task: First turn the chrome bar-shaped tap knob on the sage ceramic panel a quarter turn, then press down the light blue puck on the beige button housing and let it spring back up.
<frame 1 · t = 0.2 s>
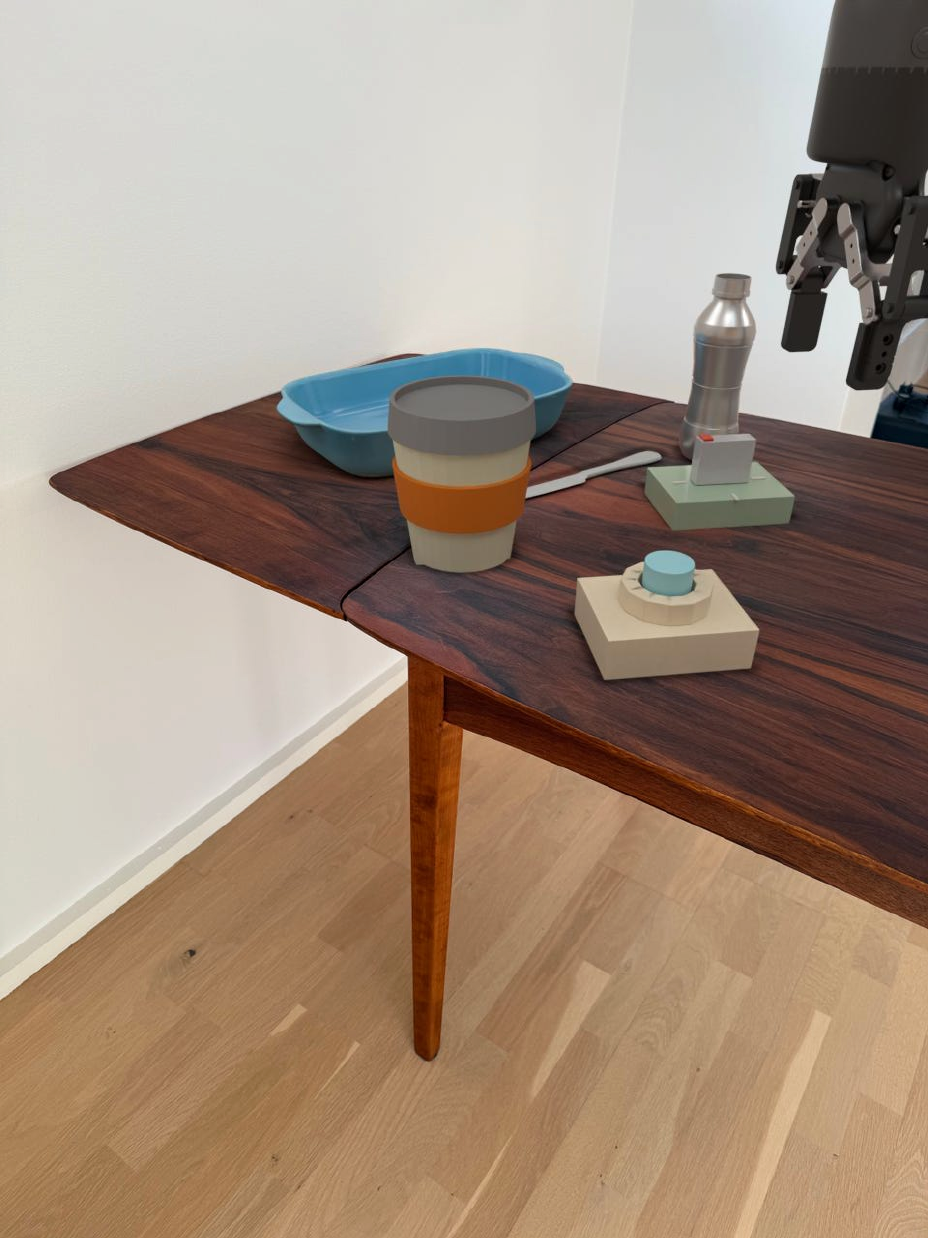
hand: (828, 368, 53), 22 cm above the table, tool pointing down, fingers open, 8 cm apart
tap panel: (714, 508, 87), on the table
casserole dish: (429, 440, 104), on the table
light blue puck: (668, 573, 62), point 7 cm above the table, slide at 0.1 cm
butter knife: (578, 480, 93), on the table
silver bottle: (704, 460, 99), on the table
reusable coffee cup: (462, 558, 78), on the table
beige button housing: (657, 649, 65), on the table
tap knob: (722, 458, 84), point 5 cm above the table, hinge at 0.0°
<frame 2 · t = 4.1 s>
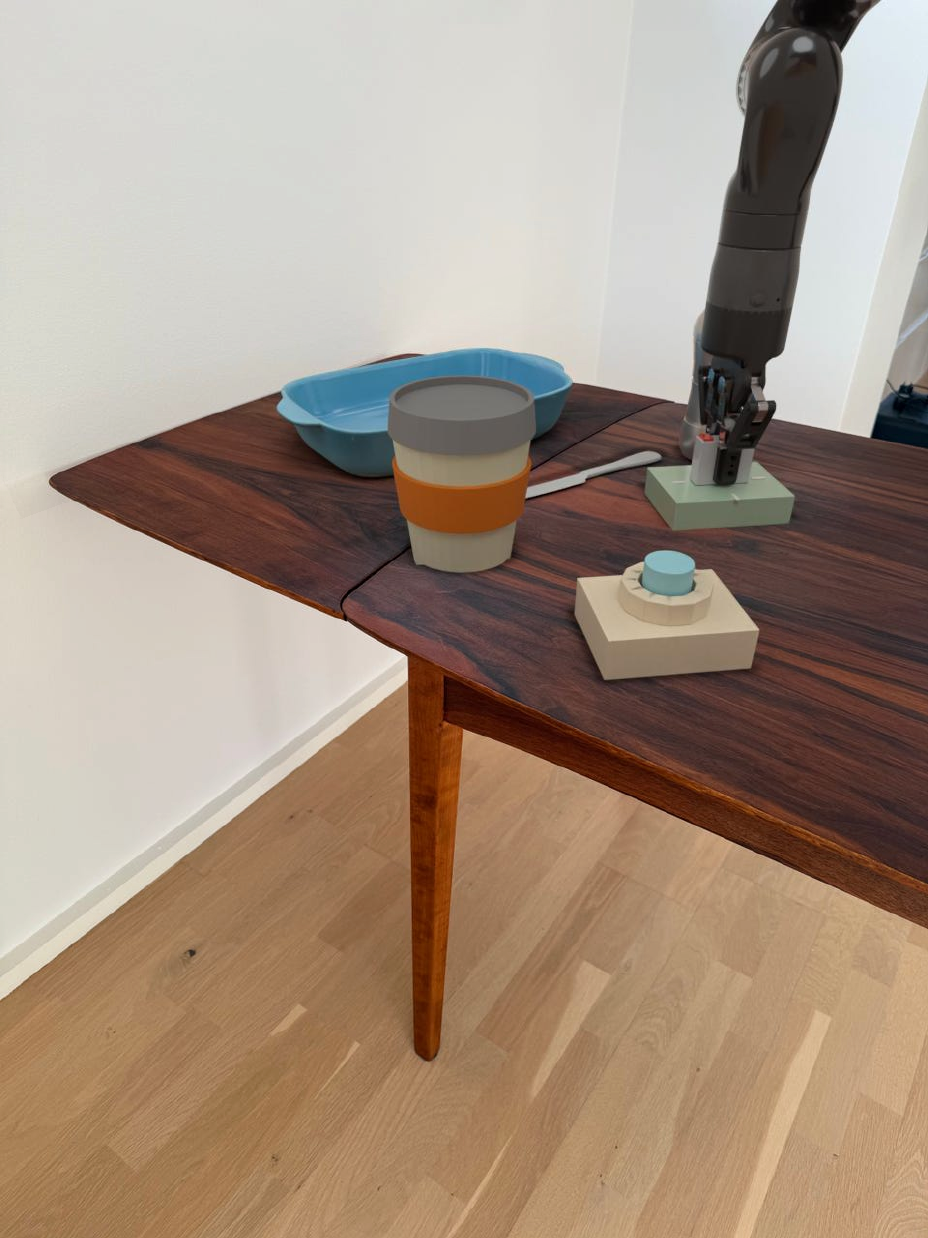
hand: (719, 477, 85), 3 cm above the table, tool pointing down, fingers closed on tap knob, 2 cm apart
tap knob: (722, 458, 84), point 5 cm above the table, hinge at 0.0°, touching gripper
everything else where it was.
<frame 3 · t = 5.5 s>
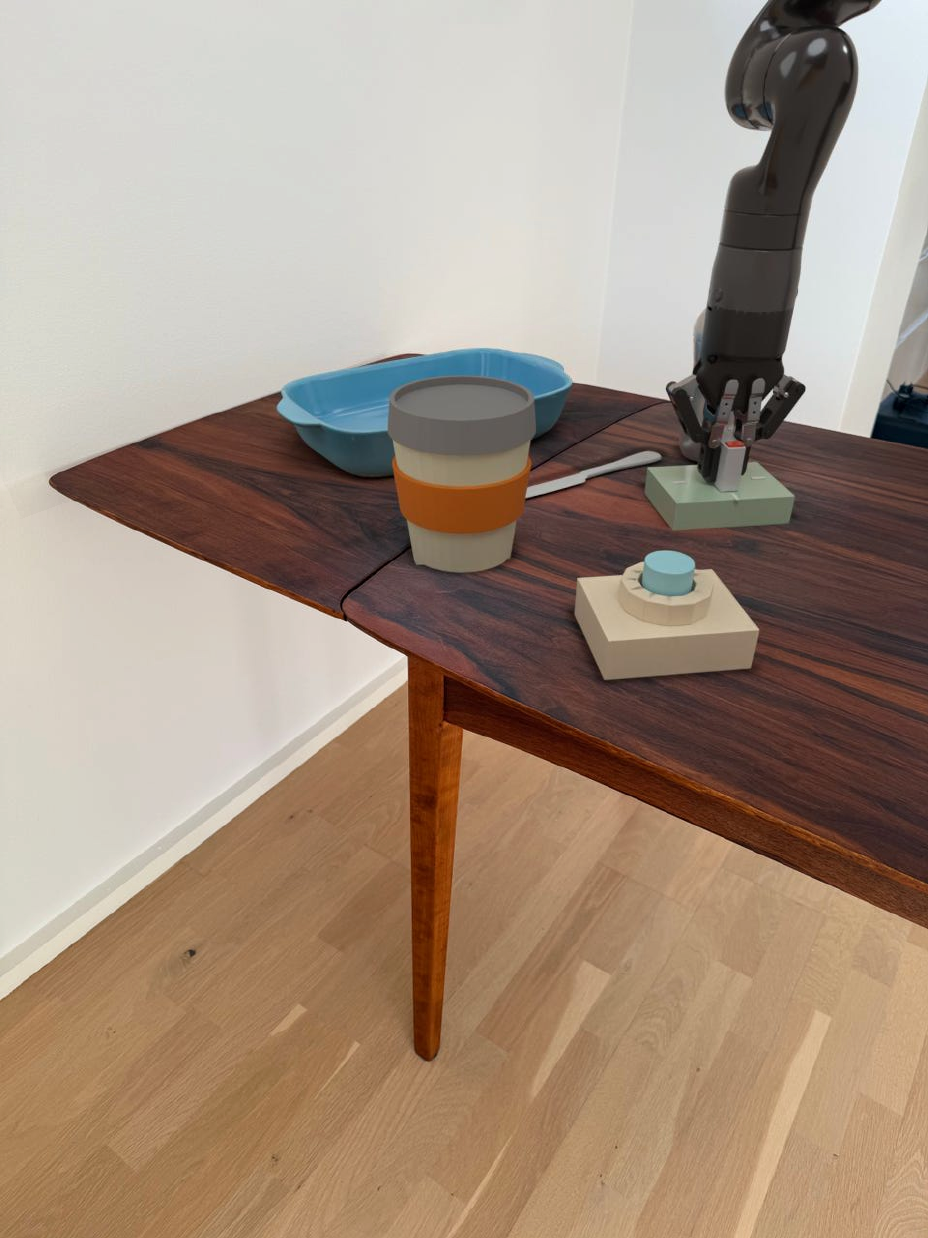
hand: (719, 478, 85), 3 cm above the table, tool pointing down, fingers closed on tap knob, 2 cm apart
tap knob: (722, 458, 84), point 5 cm above the table, hinge at 90.2°, touching gripper
everything else where it was.
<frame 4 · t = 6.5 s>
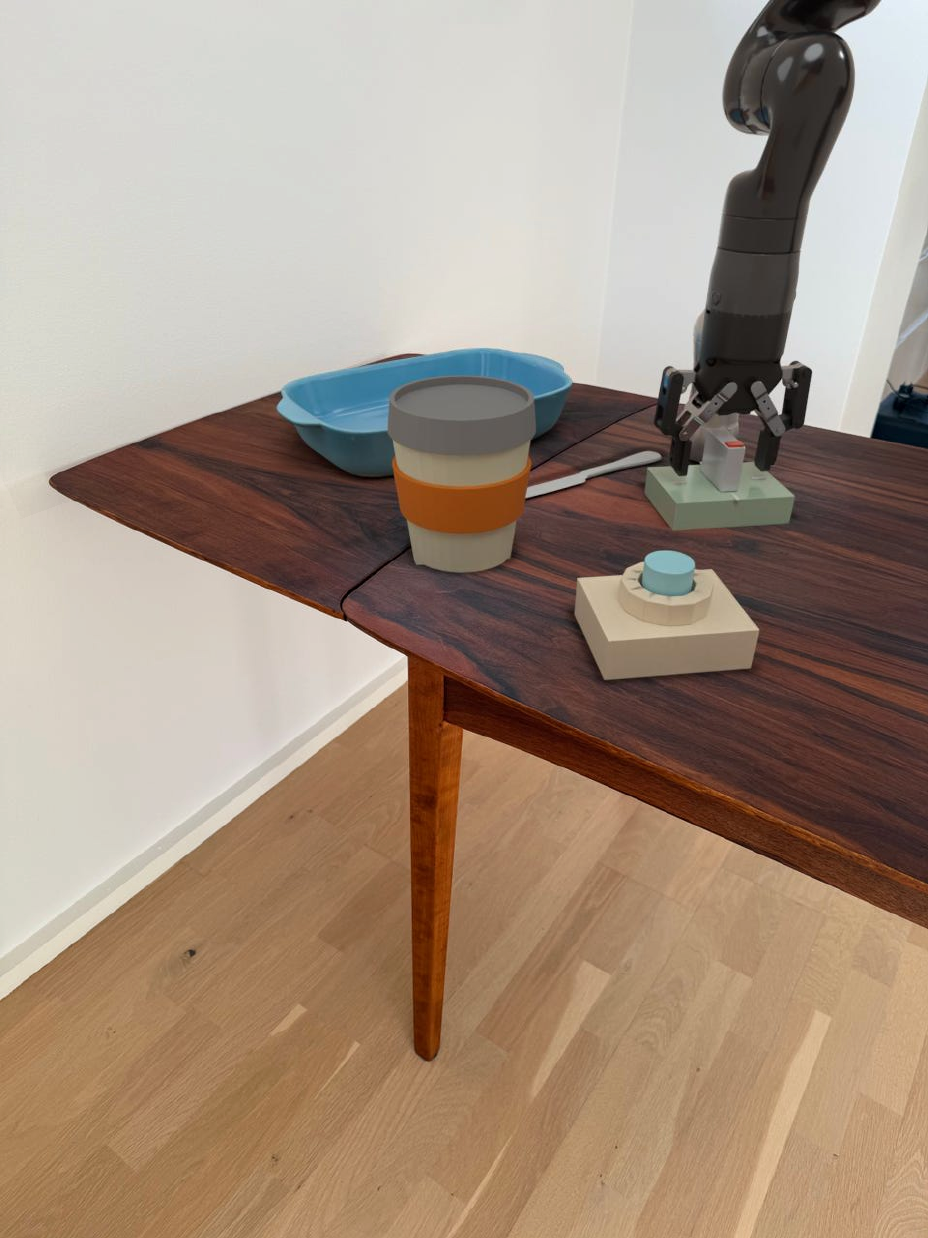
hand: (720, 471, 85), 4 cm above the table, tool pointing down, fingers open, 8 cm apart
tap knob: (722, 458, 84), point 5 cm above the table, hinge at 89.9°
everything else where it was.
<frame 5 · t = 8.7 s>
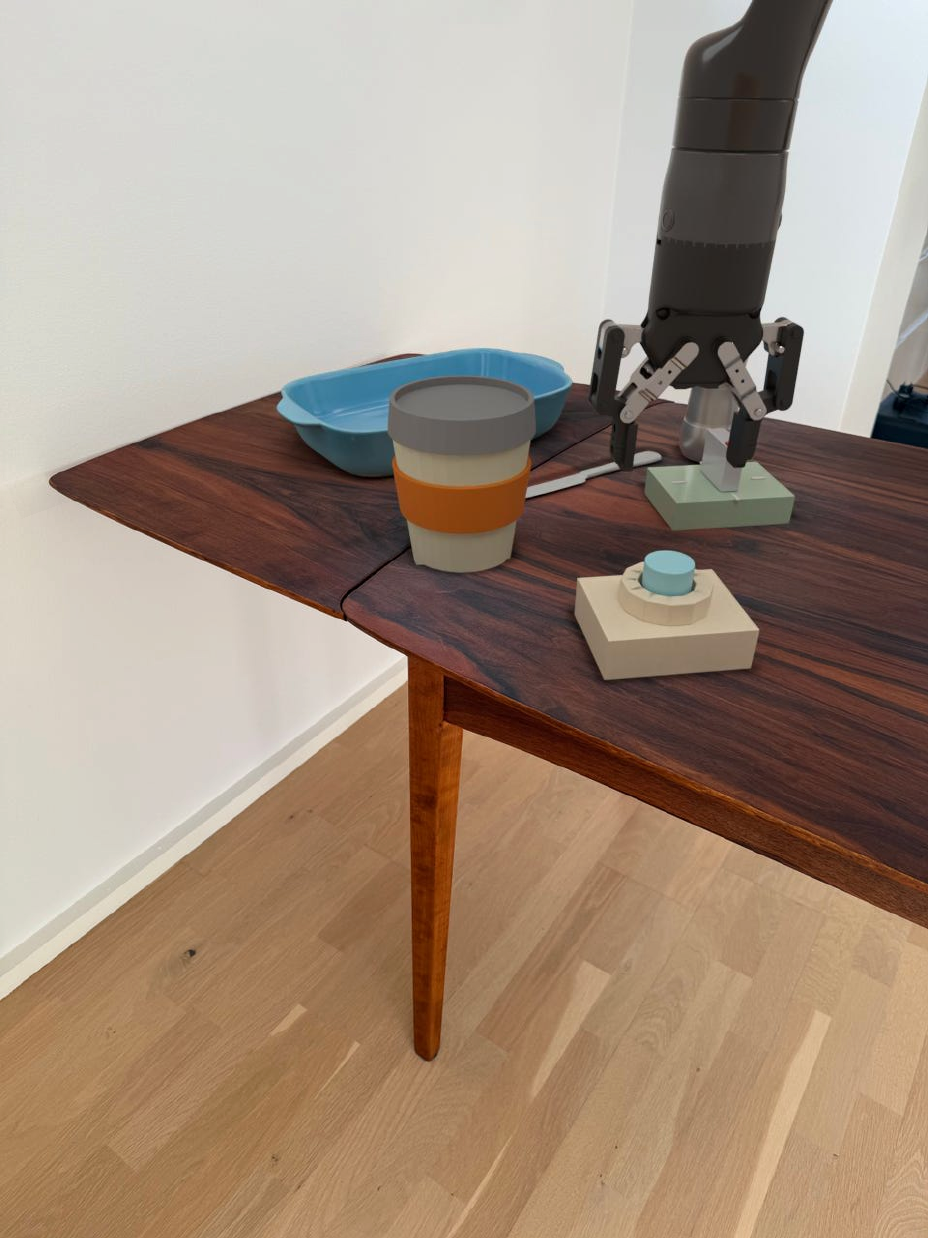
hand: (679, 465, 63), 13 cm above the table, tool pointing down, fingers open, 8 cm apart
nothing on the table moved.
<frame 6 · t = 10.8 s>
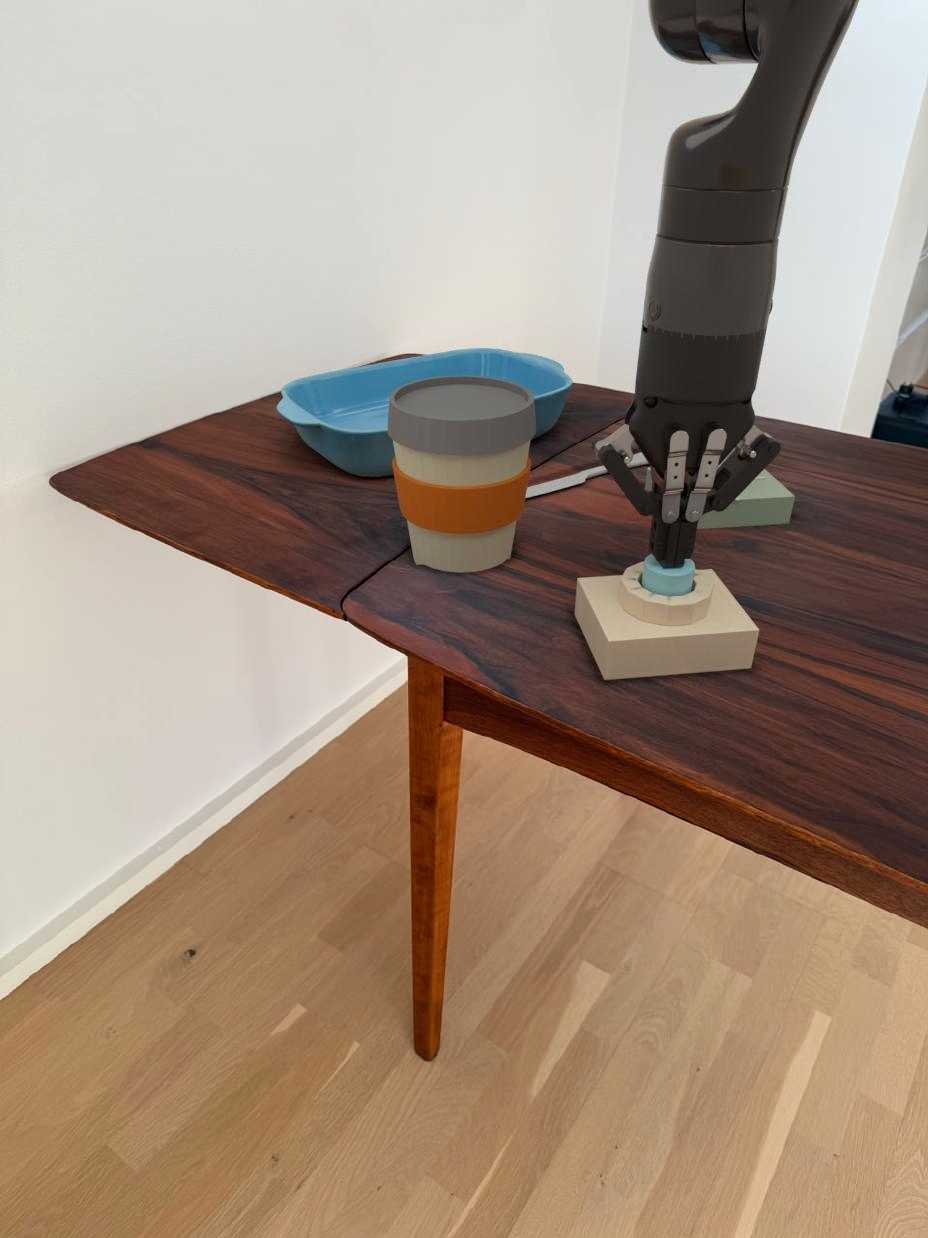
hand: (668, 562, 62), 8 cm above the table, tool pointing down, fingers closed
light blue puck: (667, 575, 62), point 7 cm above the table, slide at 0.0 cm, touching gripper
everything else where it was.
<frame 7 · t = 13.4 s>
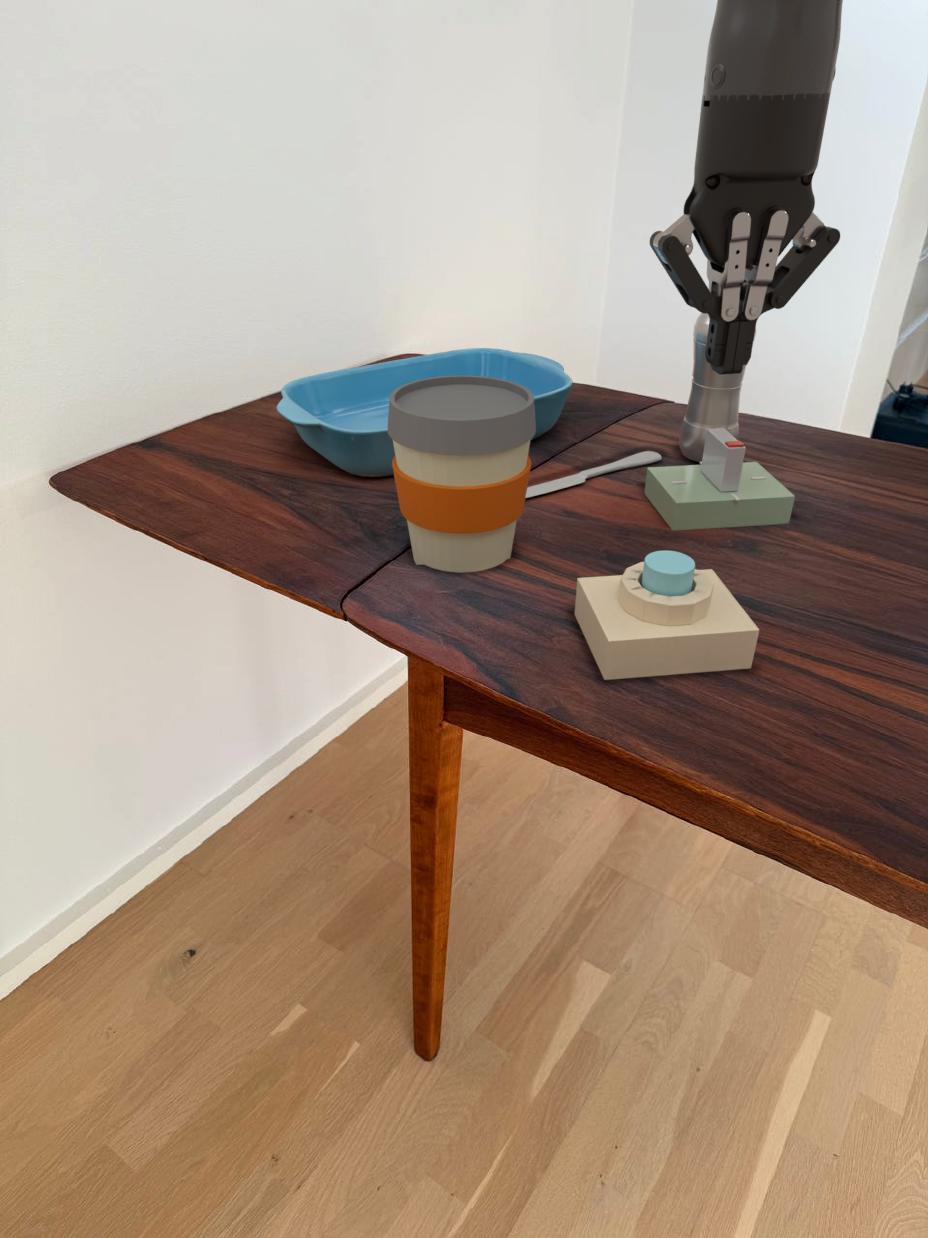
hand: (725, 371, 61), 19 cm above the table, tool pointing down, fingers closed
light blue puck: (668, 573, 62), point 7 cm above the table, slide at 0.1 cm
everything else where it was.
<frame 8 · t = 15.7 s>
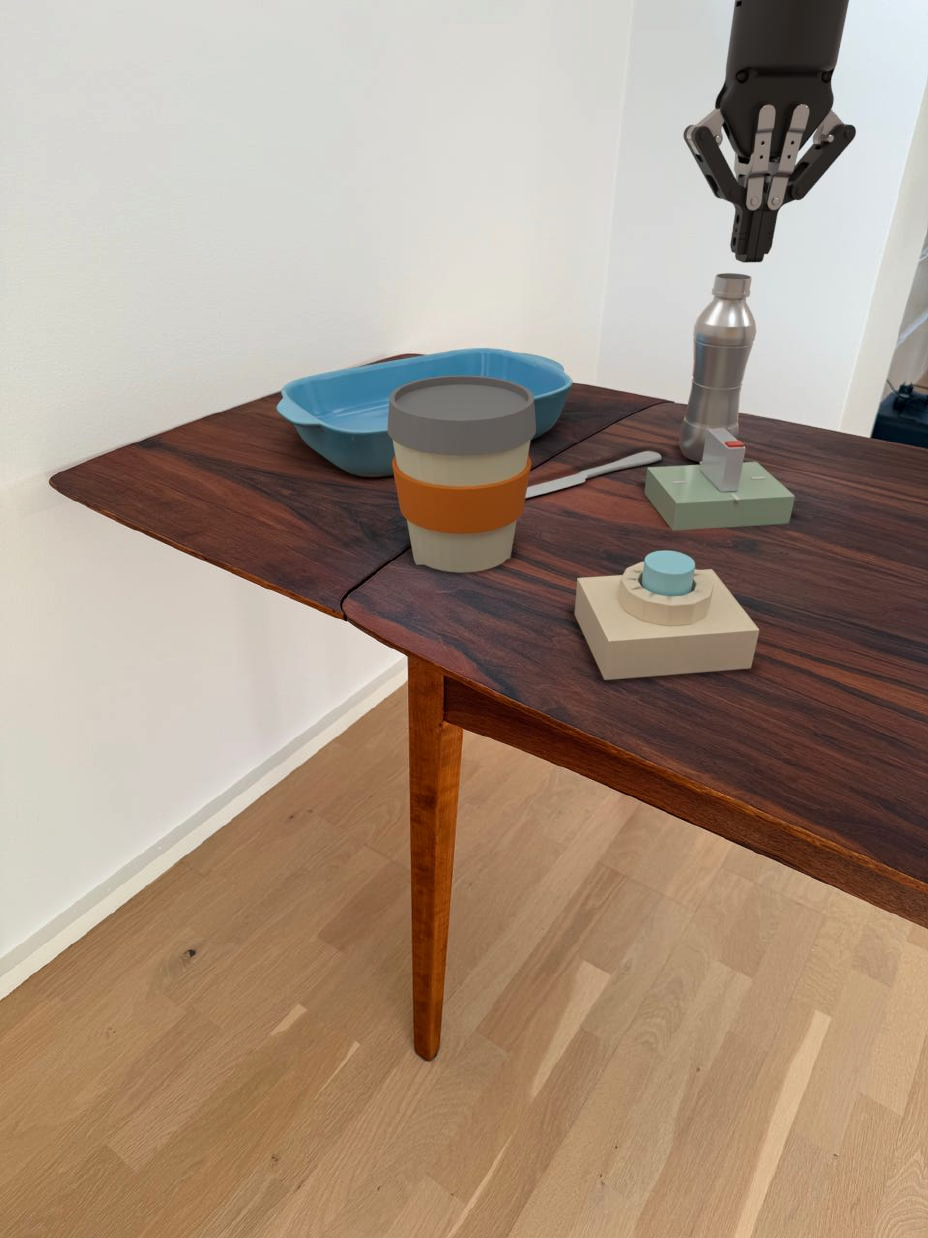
hand: (748, 260, 67), 25 cm above the table, tool pointing down, fingers closed
nothing on the table moved.
at the end: tap knob at +90° (first picture: +0°); light blue puck pushed in 1.1 cm at the most during the clip, back to where it started at the end; light blue puck slide at 0.1 cm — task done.
